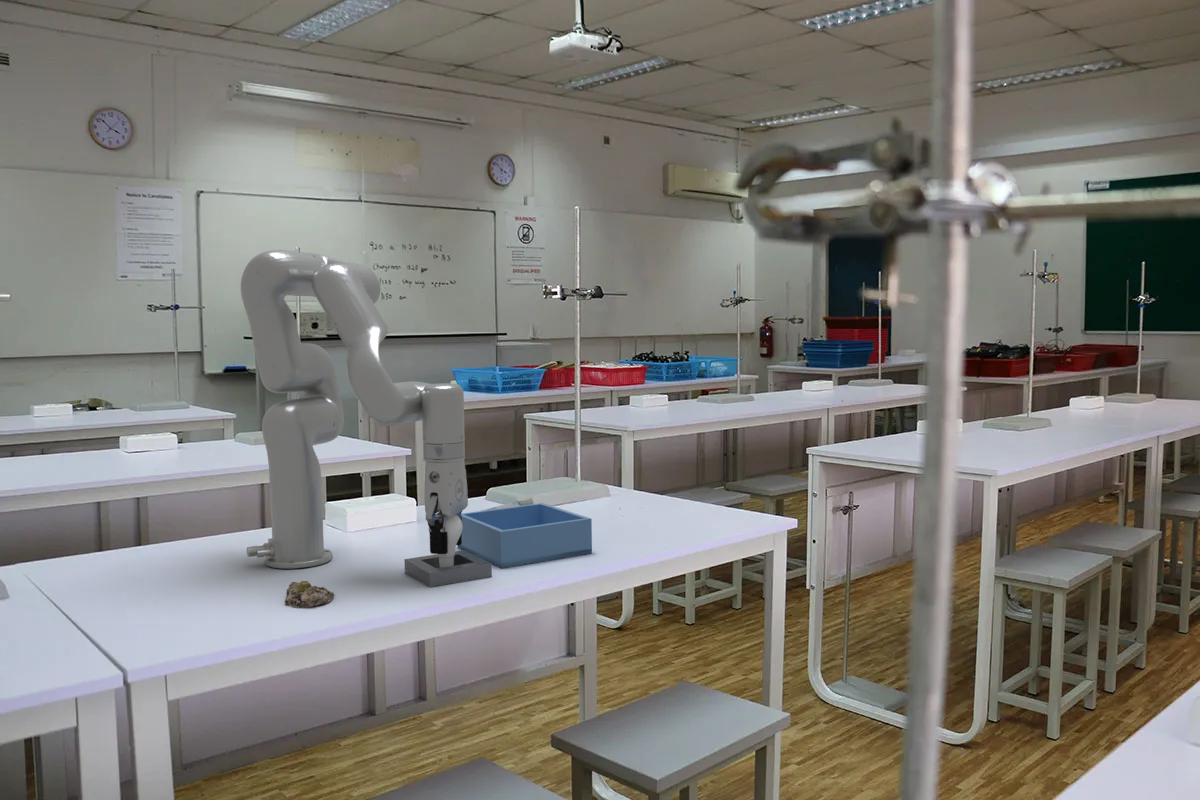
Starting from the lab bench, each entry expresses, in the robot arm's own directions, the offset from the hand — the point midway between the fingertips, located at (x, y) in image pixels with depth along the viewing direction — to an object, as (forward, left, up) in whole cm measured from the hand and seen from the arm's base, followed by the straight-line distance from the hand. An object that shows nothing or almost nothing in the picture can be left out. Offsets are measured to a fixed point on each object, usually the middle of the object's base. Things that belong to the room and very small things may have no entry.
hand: (446, 548), depth 175 cm
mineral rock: (-26, -1, -5) cm, 26 cm away
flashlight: (+24, +30, -5) cm, 38 cm away
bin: (+20, +8, -5) cm, 22 cm away
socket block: (0, 0, -5) cm, 5 cm away
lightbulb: (0, 0, -4) cm, 4 cm away
